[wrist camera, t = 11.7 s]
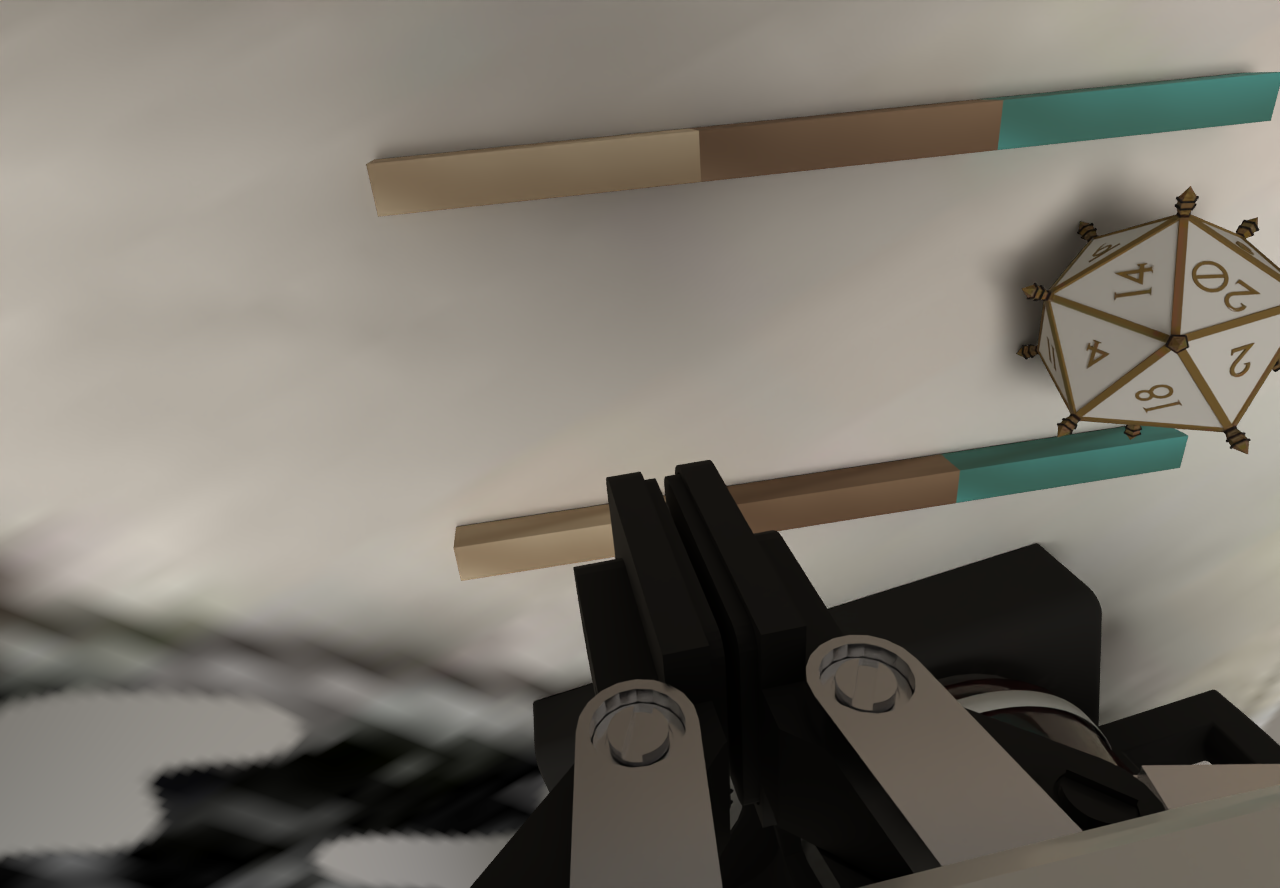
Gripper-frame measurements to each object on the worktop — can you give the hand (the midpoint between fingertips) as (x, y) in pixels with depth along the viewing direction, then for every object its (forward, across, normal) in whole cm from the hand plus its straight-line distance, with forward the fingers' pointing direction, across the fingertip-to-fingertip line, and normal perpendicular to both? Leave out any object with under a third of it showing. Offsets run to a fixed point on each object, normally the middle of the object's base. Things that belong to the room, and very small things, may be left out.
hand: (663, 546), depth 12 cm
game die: (+15, -20, +3) cm, 25 cm away
